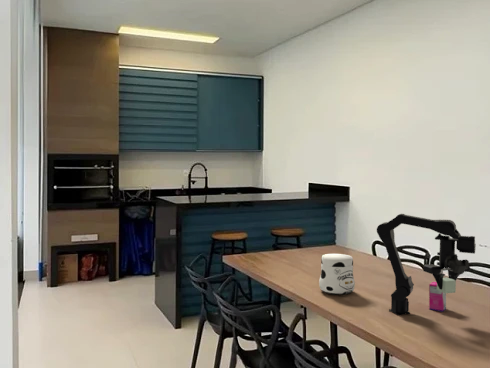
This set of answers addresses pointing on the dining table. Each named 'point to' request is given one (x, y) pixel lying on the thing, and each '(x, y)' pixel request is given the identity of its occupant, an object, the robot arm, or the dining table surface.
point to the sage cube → (448, 286)
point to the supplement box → (436, 298)
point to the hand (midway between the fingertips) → (446, 288)
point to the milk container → (337, 274)
